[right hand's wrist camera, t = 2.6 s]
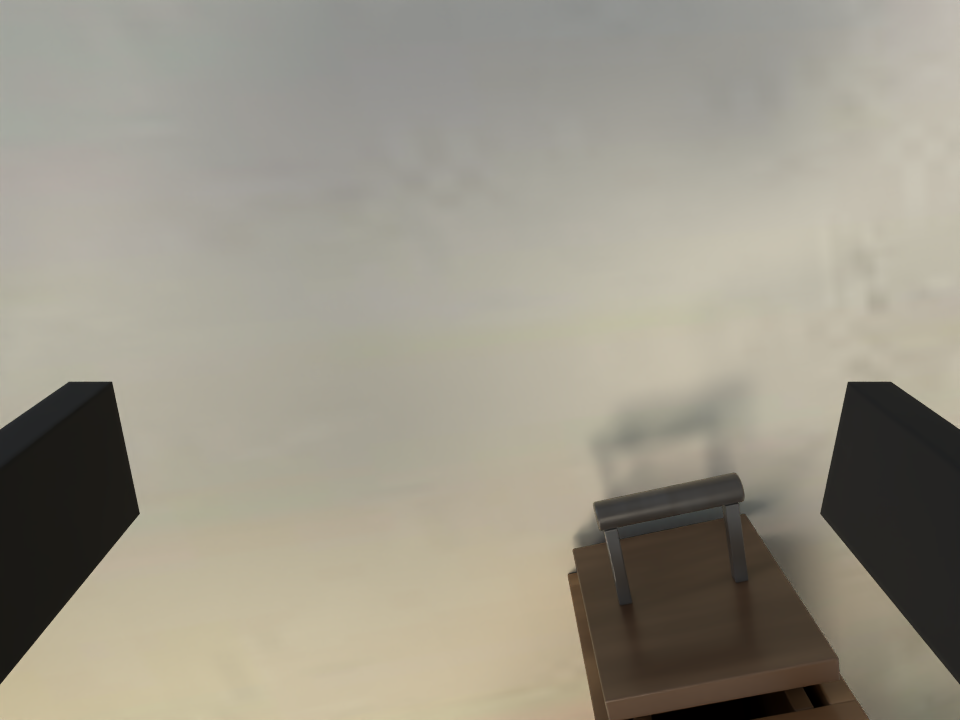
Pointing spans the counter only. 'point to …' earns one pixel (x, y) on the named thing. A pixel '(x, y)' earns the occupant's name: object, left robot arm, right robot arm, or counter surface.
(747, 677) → the drawer
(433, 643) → the counter surface
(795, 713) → the cabinet
